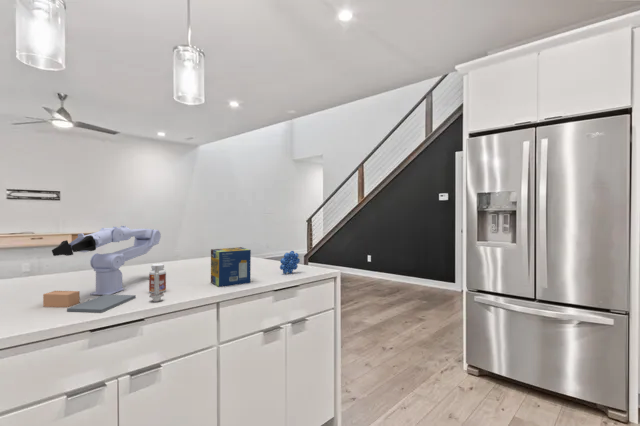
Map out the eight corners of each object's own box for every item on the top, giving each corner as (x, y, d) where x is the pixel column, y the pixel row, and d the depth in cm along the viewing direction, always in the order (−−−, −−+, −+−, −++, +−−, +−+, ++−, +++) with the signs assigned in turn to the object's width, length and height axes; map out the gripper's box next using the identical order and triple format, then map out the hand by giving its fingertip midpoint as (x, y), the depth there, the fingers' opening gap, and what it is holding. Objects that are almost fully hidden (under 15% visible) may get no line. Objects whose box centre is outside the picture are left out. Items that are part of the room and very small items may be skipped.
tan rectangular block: (55, 303, 121) (55, 290, 121) (79, 303, 121) (79, 291, 121) (43, 307, 116) (43, 294, 116) (68, 307, 116) (68, 294, 116)
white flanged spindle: (166, 299, 126) (158, 303, 122) (155, 298, 127) (146, 302, 122) (166, 264, 126) (158, 267, 121) (155, 264, 127) (146, 266, 122)
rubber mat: (105, 297, 129) (105, 294, 129) (135, 297, 128) (135, 295, 128) (67, 311, 111) (66, 308, 111) (101, 312, 110) (101, 309, 110)
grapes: (295, 271, 185) (295, 249, 184) (301, 273, 179) (301, 250, 179) (276, 273, 178) (276, 250, 178) (282, 275, 172) (282, 252, 172)
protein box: (210, 282, 155) (210, 249, 154) (241, 278, 164) (241, 247, 164) (218, 287, 146) (218, 251, 146) (251, 282, 156) (251, 249, 155)
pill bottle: (148, 294, 134) (148, 266, 134) (149, 290, 139) (149, 263, 139) (166, 292, 136) (166, 265, 136) (165, 289, 142) (166, 263, 142)
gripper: (73, 234, 129) (41, 243, 115) (107, 227, 127) (78, 235, 113) (79, 251, 130) (47, 263, 116) (112, 245, 128) (84, 255, 114)
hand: (63, 250), depth 115 cm, fingers open, 7 cm apart
